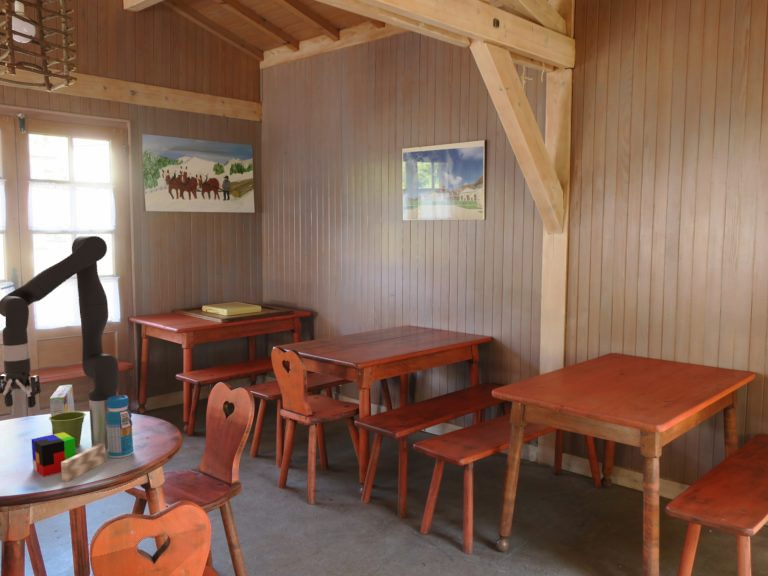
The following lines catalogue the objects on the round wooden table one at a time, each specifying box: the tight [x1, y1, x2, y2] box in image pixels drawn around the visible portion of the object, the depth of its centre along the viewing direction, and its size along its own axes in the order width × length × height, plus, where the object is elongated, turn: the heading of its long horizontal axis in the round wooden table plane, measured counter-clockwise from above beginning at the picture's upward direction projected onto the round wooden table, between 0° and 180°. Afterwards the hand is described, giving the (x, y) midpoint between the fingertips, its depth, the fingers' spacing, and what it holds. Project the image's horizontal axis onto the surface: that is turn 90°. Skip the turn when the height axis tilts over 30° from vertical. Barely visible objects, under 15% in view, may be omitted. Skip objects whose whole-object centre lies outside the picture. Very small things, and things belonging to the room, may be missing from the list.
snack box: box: [49, 384, 76, 435], centre depth 257 cm, size 21×6×15 cm, turn 17°
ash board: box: [61, 444, 107, 483], centre depth 210 cm, size 18×2×6 cm, turn 166°
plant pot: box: [48, 411, 86, 449], centre depth 235 cm, size 12×12×11 cm
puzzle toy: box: [31, 432, 77, 477], centre depth 213 cm, size 10×10×10 cm
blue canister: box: [106, 395, 134, 459], centre depth 225 cm, size 8×8×20 cm
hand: (20, 406), depth 214 cm, fingers open, 8 cm apart
